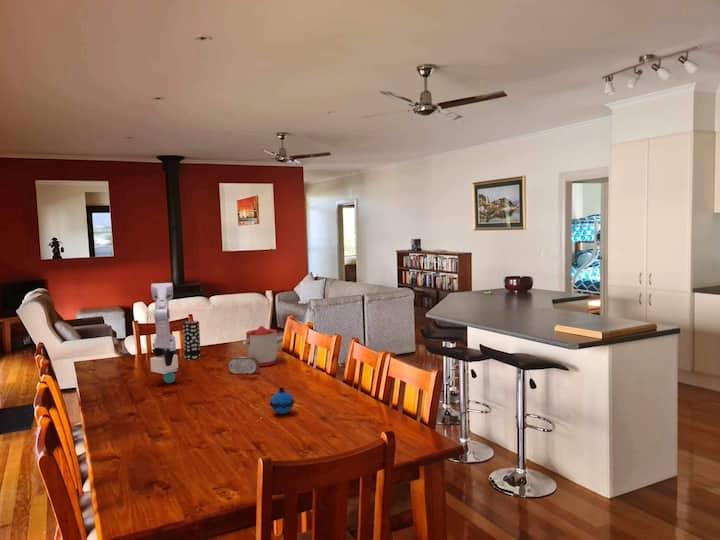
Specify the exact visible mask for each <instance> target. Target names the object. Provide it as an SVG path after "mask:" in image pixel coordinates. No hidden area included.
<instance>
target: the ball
mask: <svg viewBox="0 0 720 540" xmlns="http://www.w3.org/2000/svg"><path fill="white" fill-rule="evenodd" d="M163 375H164V376H163V381H164V382H165V383H166V384H173V383H174V381H175V379H176V374H175V373H174V372H168V373H166V374H163Z"/></svg>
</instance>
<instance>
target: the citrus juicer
mask: <svg viewBox="0 0 720 540" xmlns="http://www.w3.org/2000/svg"><path fill="white" fill-rule="evenodd" d="M277 332H278V330H277V329H275V328H274V329H272V328H265V326H263V325H260V326H259V327H258V328H256V329H252V330H247V331H246V334H245V335H246V338H245V339H244V340H243V343H242V344H243V345H246V348H247V356H251V357H255V358H256V359H257V360H258V362H259V366H260V367H268V366H272V365H271V364H273V365H274V364H275V362H276V360H277V356H278V355H277V353H278V339H277V338H278V336H277V335H278V333H277Z"/></svg>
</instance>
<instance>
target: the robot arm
mask: <svg viewBox="0 0 720 540" xmlns="http://www.w3.org/2000/svg"><path fill="white" fill-rule="evenodd" d="M173 286H174V285H173V282H161V283H160V282H159V283H157V282H156V283H154V282H152V283H151V285H150V290H151V297H152V301H155V305H154V310H153V319H154V320H153V321H154V324H155V326H154V327H155V333H156V334H155V338H154V342H153V343H152V349H151V352H153V354H154V357H157V356H161V355H164V357H165V362H166V366H170V365H171V364H172V359H173V356H174V355H176V354H175V353H176V352H177V343H176V337H175V335H172V334H171V332H170V320H171V315H170V314H171V313H170V312H171V311H170V307H169V306H170V305H169V301H171V300H172V299H173V297H174V288H173ZM178 371H179V370H178V369H173V370H169V371H165V372H161V373H159V374H161V375H165V374H166V373H168V372H172V373H174V372H175V373H176V372H178Z"/></svg>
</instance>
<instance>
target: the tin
mask: <svg viewBox="0 0 720 540" xmlns="http://www.w3.org/2000/svg"><path fill="white" fill-rule="evenodd" d="M259 368H260V367H259V362H258V360H257V359H256V358H255V357H251V356H248V355H246V356H244V355H242V356H241V355H239V356H238V355H237V356H236V355H235V356H233V357H231V358H230V359H229V361H227V369H228V371H229V372H230V373H231V374H233V375H247V374H246V373H249V374H248V375H251V374H250V373H254V374H256V372H257V371H258V370H259Z"/></svg>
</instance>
